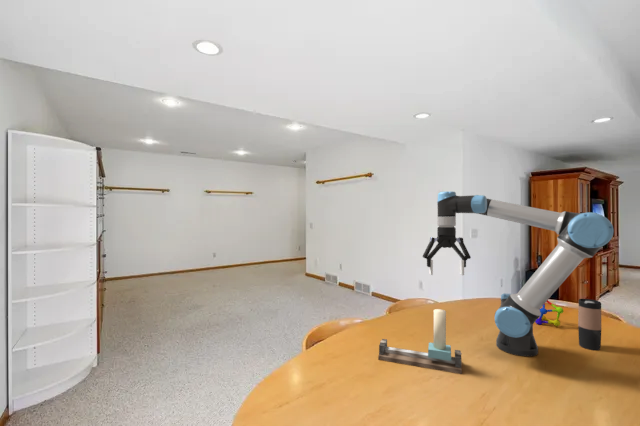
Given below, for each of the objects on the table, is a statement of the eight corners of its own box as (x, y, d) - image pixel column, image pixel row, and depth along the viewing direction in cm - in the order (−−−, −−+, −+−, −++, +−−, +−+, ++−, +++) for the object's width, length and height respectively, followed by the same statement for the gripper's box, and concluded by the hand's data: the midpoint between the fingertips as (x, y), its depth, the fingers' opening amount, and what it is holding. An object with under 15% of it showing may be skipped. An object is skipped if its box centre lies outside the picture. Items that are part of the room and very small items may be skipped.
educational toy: (523, 324, 168) (520, 295, 169) (538, 320, 173) (535, 293, 175) (554, 331, 154) (551, 299, 155) (570, 327, 159) (567, 297, 161)
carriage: (450, 353, 122) (450, 309, 122) (451, 361, 116) (451, 314, 116) (428, 349, 125) (429, 307, 125) (428, 357, 119) (428, 312, 119)
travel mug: (597, 345, 138) (597, 299, 138) (604, 352, 131) (604, 304, 131) (575, 342, 142) (575, 297, 142) (581, 348, 135) (581, 302, 135)
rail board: (460, 361, 122) (460, 348, 122) (462, 374, 113) (462, 359, 113) (382, 349, 133) (382, 336, 133) (377, 359, 124) (377, 345, 124)
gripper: (471, 226, 143) (470, 273, 143) (415, 226, 143) (415, 272, 143) (479, 227, 135) (478, 276, 135) (420, 226, 136) (420, 275, 136)
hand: (446, 274), depth 139 cm, fingers open, 13 cm apart
